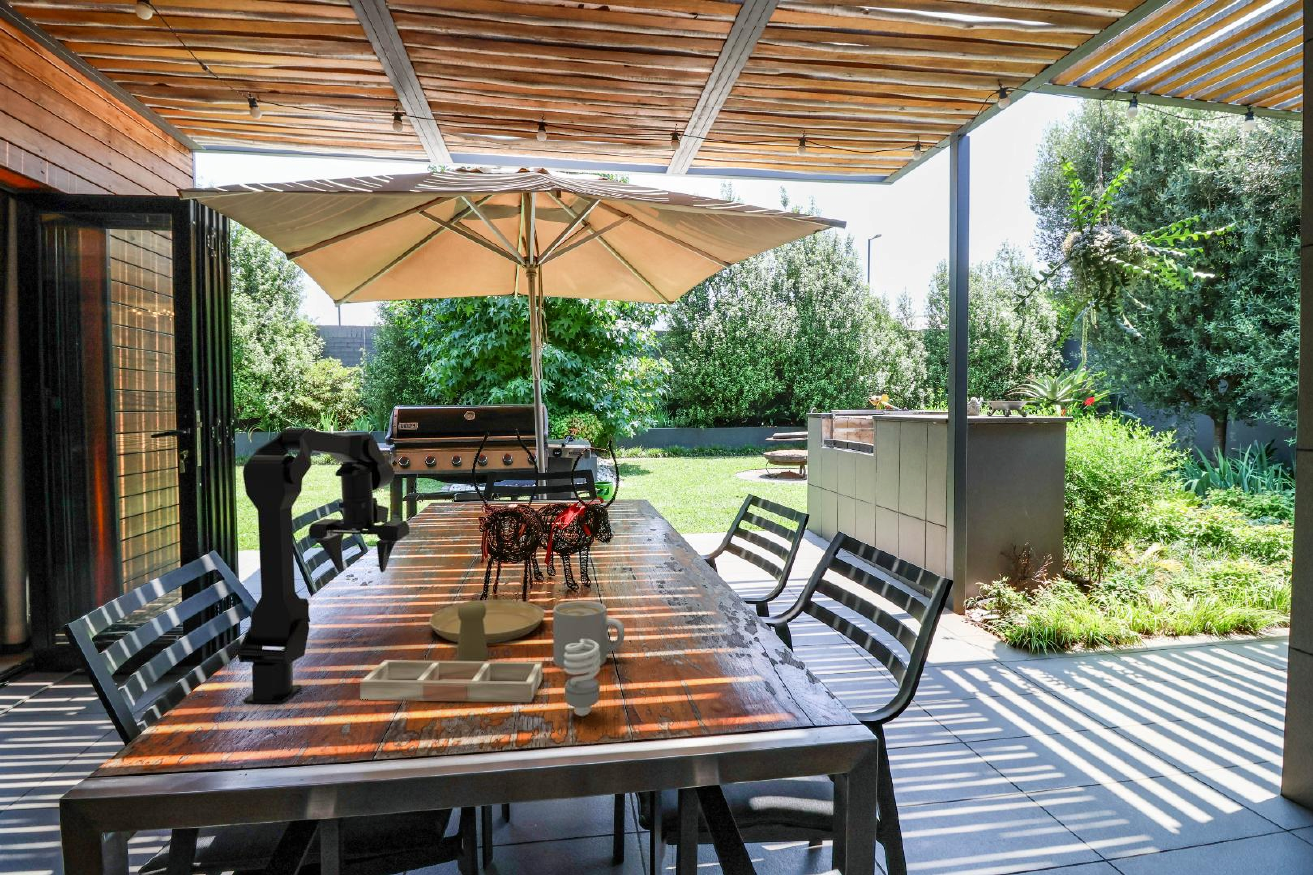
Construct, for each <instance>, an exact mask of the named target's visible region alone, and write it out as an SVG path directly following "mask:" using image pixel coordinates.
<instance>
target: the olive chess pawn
mask: <svg viewBox="0 0 1313 875" xmlns="http://www.w3.org/2000/svg"><path fill="white" fill-rule="evenodd" d="M479 601H480V600H469V601H465V602H461V603H462V604H461V603H460V604H461V605H460V606H459V608H458V617H459V619H460V620H461V624H460V632H459V640H458V642H457V650H456V658H455V661H489V653H488V645H487V644H486V637H485V630H484V623H483V619H484V617H485V615H486V607H485V605H484V603H482V602H479Z"/></svg>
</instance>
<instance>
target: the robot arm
mask: <svg viewBox="0 0 1313 875" xmlns="http://www.w3.org/2000/svg"><path fill="white" fill-rule="evenodd" d="M289 452H298V453H297V455H295V456H293V455H287V454H288V453H289ZM312 453H314V454H315V453H316V454H324V455H329V456H330V458H331V459H333V460H335V461H337V462H340V463H342V464H341V466H340V467H339V468H338V469H337V471H335V473H334V474H335V476H336V477H340V480H341V481H340V482H341V484H340V485H341V501H340V502H338V508H339V509H342V517H343V518H342V519H343V520H341V519H339V518H338V519H337V518H336V519H335V518H334V519H333V518H323V519H320V520H318V521H316V522H313V523H310V526H309V528H308V538H309V539H313V540H314V542H315V543H317V544H319V545H320V547H321V548H322V549H323V550H324V551H325V553H326V554H327V556H329V559H330V561H331V562H332V564H333V565H334V567H335V568H336V570H337V571H338V572H341V571H343V549H342V541H343V538H344V535H345V534H347V535H348V534H349V535H376V536H377V538H378V539H379V540H378V541H376V542H375V543H376V550H377V551H376V552H377V559H378V565H379V566H378V567H379V572H380V573H385V572H386V569H387V566H388V562H389V559H390V556H391V553H392V551H393V549H394V547H395V545H396V543H397V542H399V541H400V540H402V539H403V538H404V537H406V536H409V535H410V526H409V524H408V523H407V521H406V520H388V519H389V510H390V507H386V506H383V505H379V504H378V500H377V497H374V494H373V492H374V491H376V490H379V489H381V488H384V487H387V486H389V485H390V484H392V482H393V481H394V480H395V476H396V475H395V469H394V468H393V466H392V465H391V463H389V461H387V460H386V456H385V455H384V454H383V452H382V451H381V449H380V446H379V444H378V442H377V441H376V439H375V437H374V435H373V434H371V433H367V432H366V433H363V432H361V433H357V432H355V433H352V432H351V433H350V432H349V433H348V432H345V433H344V432H343V433H339V432H338V433H331V432H326V431H325V432H324V431H318V430H314V429H311V428H309V427H286V428H285V429H282V430H281V431H280V432H279V434H278V435H277V436H276V437H275V438H273V439H272V440H270V441H269V442H267V443H265V444H264V445H262V446H260V447H259V448H257V449H256V451H255V452H254V453H253V454H252V456H250V458H249V459H248V460H247V462H246V463H245V464H244V466H243V469H242V475H243V477H242V478H243V483H244V487H245V488H244V489H245V495H246V496H247V497H248V499H249V500H250V502H251V503H252V505H253V506H254V507H255V509H256V510H257V521H258V522H257V523H258V524H257V525H258V545H259V546H258V547H259V564H260V567H259V568H260V569H259V571H260V573H259V574H260V590H261V591H260V592H261V593H260V598H259V599H258V602H257V603H256V605H255V607H254V608H253V610H252V611H251V616H250V626H249V628H248V630H247V631H246V633H245V635H244V637H243V639H242V641H241V643H240V646H239V647H238V649H237V651H236V655H237V658H238V660H239V663H252V664H251V675H252V676H251V678H252V680H251V681H252V687H251V688H252V693H250V694H249V695H247V696H246V697H244V698H243V701H242V702H243V703H246V704H282V703H284V702H286V701H288V699H290V698H291V697H292V696H294V695H295V694H296V693H297V692H299V691H301V689H302V688H303V686H302V685H301V684H293V683H294V670H293V668H294V667H293V666H294V665H293V662H295V661H297V660H298V659H301V658H302V657H304V656H305V653H306V648H307V643H308V639H309V638H308V637H309V633H310V632H309V631H310V624H309V623H310V622H311V618H310V612H309V609H310V603H309V600H308V598H301V597H300V596H299V595H298V594H297V592H296V586H295V583H296V582H295V565H294V564H295V562H294V561H295V559H294V556H295V555H294V536H293V534H294V533H293V531H294V530H293V506H294V504H295V503H296V501H297V499H298V497H299V496H300V494H301V492H302V490H303V488H302V486H303V479H304V478H305V476H306V474H307V473H308V471H309V470H310V469H311V467H312V456H311V454H312ZM380 523H382V524H380ZM264 647H266V648H267V647H270V648H284V649H283V650H282V649H264Z"/></svg>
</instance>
